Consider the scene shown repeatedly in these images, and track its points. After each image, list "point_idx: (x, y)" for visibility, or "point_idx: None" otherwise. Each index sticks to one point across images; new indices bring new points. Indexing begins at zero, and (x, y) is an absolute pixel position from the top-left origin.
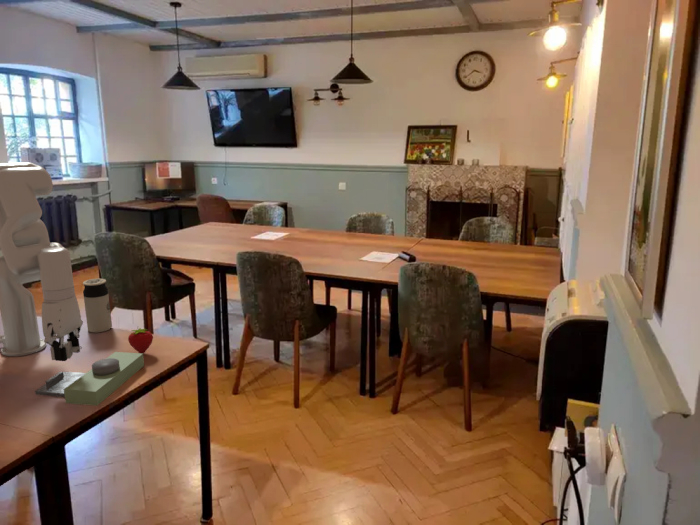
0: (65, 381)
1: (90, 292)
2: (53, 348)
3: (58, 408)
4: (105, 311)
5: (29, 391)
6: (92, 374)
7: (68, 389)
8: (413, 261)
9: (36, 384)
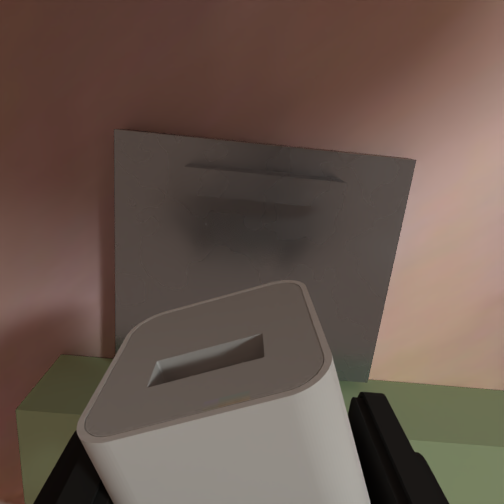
0: (264, 252)
1: None
2: (56, 502)
3: (5, 347)
4: None
5: (158, 54)
6: None
7: (20, 435)
8: None
9: (261, 38)
